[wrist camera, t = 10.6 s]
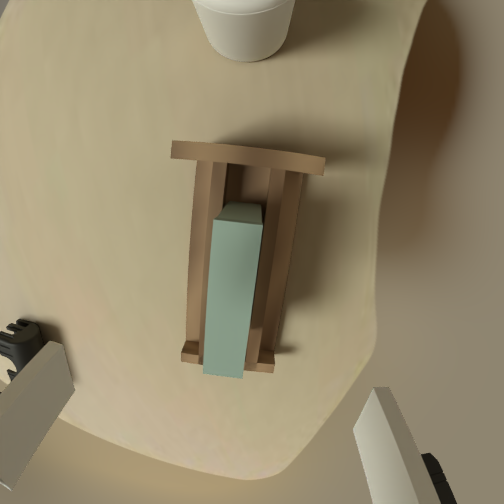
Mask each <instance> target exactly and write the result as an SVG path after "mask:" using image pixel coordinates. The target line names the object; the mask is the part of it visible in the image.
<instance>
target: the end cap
mask: <svg viewBox="0 0 504 504" xmlns="http://www.w3.org/2000/svg"><path fill="white" fill-rule="evenodd" d="M16 324H17V325H16ZM16 324H13V323H11V324H9V325H8V326H7V327H6V328H7V330H10V331H13V332H14V334H13V335H11V334H8V333H5V332H3V331H1V332H0V354H1V355H2V356H5V357H7V358H9V359H10V360H11V361H12V362H13V363H14V365H15V367H16V369H17V372H14V371H12V370H9V369H8V370H7V372H8V375H9V377H10V379H11V381H12V380H13V379H14V378H15V377H16V376H17V375H18V374H19V373H20V371H21V370H22V369H23V368H24V367H25V366H26V365H27V364H28V363H29V362H30V361H31V360H32V359H33V358H34V356H35V355H36V354H37V353H38V352H39V351H40V350H41V349H42V348H43V347H44V344H43V340H42V337H41V333H40V330H39V327H38V325H37V324H35V323H33V322H29V321H25V320H22V319H18V320H17V321H16Z"/></svg>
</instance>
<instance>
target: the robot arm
mask: <svg viewBox="0 0 504 504" xmlns="http://www.w3.org/2000/svg"><path fill="white" fill-rule="evenodd" d="M74 391H75V388H74V385H73V381H72V378H71V374H70V370H69V367H68V363H67V359H66V355H65V351H64V346H63V344H59V343H56V342H53V341H49V342H48V343H47V344H46V345H45V346H44V347H43V348H42V349H41V350H40V351H39V352H38V353H37V354H36V355H35V356H34V358H33V359H32V360H31V361H30V362H29V363H28V364H27V365H26V366H25V367H24V368H23V369H22V370H21V371H20V373H19V374H18V375H17V376H16V377H15V378H14V379H13V380H12V381H11V382H10V384H9V385H8V386H7V387H6V388H5V389H4V390H3V391H2V392H0V484H2V485H3V486H5V487H6V488H8V489H10V490H11V491H12V490H13V488H14V487H15V485H16V483H17V481H18V480H19V478H20V476H21V474H22V473H23V471H24V469H25V468H26V466H27V464H28V463H29V461H30V459H31V458H32V456H33V454H34V453H35V451H36V450H37V448H38V446H39V445H40V443H41V441H42V440H43V438H44V437H45V435H46V434H47V432H48V431H49V429H50V427H51V426H52V424H53V423H54V421H55V420H56V418H57V417H58V415H59V414H60V412H61V411H62V409H63V408H64V406H65V405H66V403H67V402H68V400H69V399H70V397H71V396H72V394H73V393H74ZM353 432H354V435H355V439H356V442H357V445H358V449H359V453H360V456H361V460H362V464H363V467H364V471H365V474H366V478H367V482H368V486H369V490H370V493H371V497H372V501H373V504H457V503H456V500H455V498H454V495H453V493H452V491H451V488H450V486H449V484H448V482H447V481H446V477H445V475H444V473H443V470H442V468H441V466H440V464H439V462H438V461H437V459H436V458H435V457H434V456H433V455H432V454H431V453H426V454H421V455H420V452H419V450H418V448H417V446H416V443H415V441H414V439H413V437H412V435H411V432H410V430H409V428H408V426H407V424H406V421H405V419H404V417H403V415H402V413H401V411H400V409H399V407H398V405H397V402H396V400H395V398H394V396H393V394H392V392H391V390H390V388H389V387H374V388H373V389H372V391H371V394H370V396H369V398H368V400H367V402H366V404H365V406H364V408H363V410H362V413H361V415H360V417H359V419H358V421H357V423H356V425H355V426H354V428H353Z"/></svg>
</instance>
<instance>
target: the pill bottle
mask: <svg viewBox="0 0 504 504" xmlns="http://www.w3.org/2000/svg"><path fill="white" fill-rule="evenodd" d="M192 1H193V4H194V6H195V8H196V11H197V13H198V16H199V18H200V21H201V23H202V25H203V28H204V30H205V33H206V35H207V38H208V40H209V42H210V44H211V45H212V46H213V48H214V49H215V50H216V51H217V52H218V53H219V54H221V55H222V56H224V57H226V58H228V59H231V60H234V61H239V62H253V61H259V60H262V59H265V58H267V57H269V56H271V55H272V54H274V53H275V52H276V51H277V50H278V49H279V48H280V47H281V46H282V44H283V43H284V41H285V39H286V36H287V32H288V28H289V24H290V20H291V16H292V12H293V8H294V4H295V0H192Z"/></svg>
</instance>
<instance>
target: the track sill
mask: <svg viewBox="0 0 504 504" xmlns="http://www.w3.org/2000/svg"><path fill="white" fill-rule="evenodd" d="M171 158H173V159H188V160H197V167H196V176H195V187H194V198H193V209H192V222H191V236H190V251H189V268H188V288H187V316H186V341H185V344H184V347H183V349H182V352H181V361H182V362H188V363H194V364H201V365H203V360H204V340H205V323H206V307H207V292H208V278H209V265H210V253H211V241H212V230H213V220H214V218H215V217H217V216H218V215H219V214H220V212H221V211H222V210H223V208H224V207H225V206H226V205H227V203H228V202H229V201H235V202H243V203H252V204H260V205H261V214H262V223H263V229H262V236H261V244H260V252H259V259H258V267H257V274H256V282H255V289H254V297H253V304H252V311H251V319H250V326H249V333H248V341H247V348H246V355H245V362H244V369H243V370H247V371H256V372H267V373H273V371H274V366H275V360H274V349H275V343H276V338H277V333H278V328H279V322H280V317H281V311H282V306H283V300H284V294H285V289H286V283H287V277H288V271H289V265H290V259H291V253H292V247H293V240H294V234H295V228H296V221H297V215H298V208H299V201H300V194H301V187H302V180H303V173H309V174H315V175H321V176H323V174H324V167H325V160H326V158H324V157H318V156H312V155H306V154H300V153H293V152H287V151H279V150H272V149H264V148H256V147H247V146H238V145H228V144H217V143H205V142H191V141H173V140H172V148H171Z"/></svg>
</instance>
